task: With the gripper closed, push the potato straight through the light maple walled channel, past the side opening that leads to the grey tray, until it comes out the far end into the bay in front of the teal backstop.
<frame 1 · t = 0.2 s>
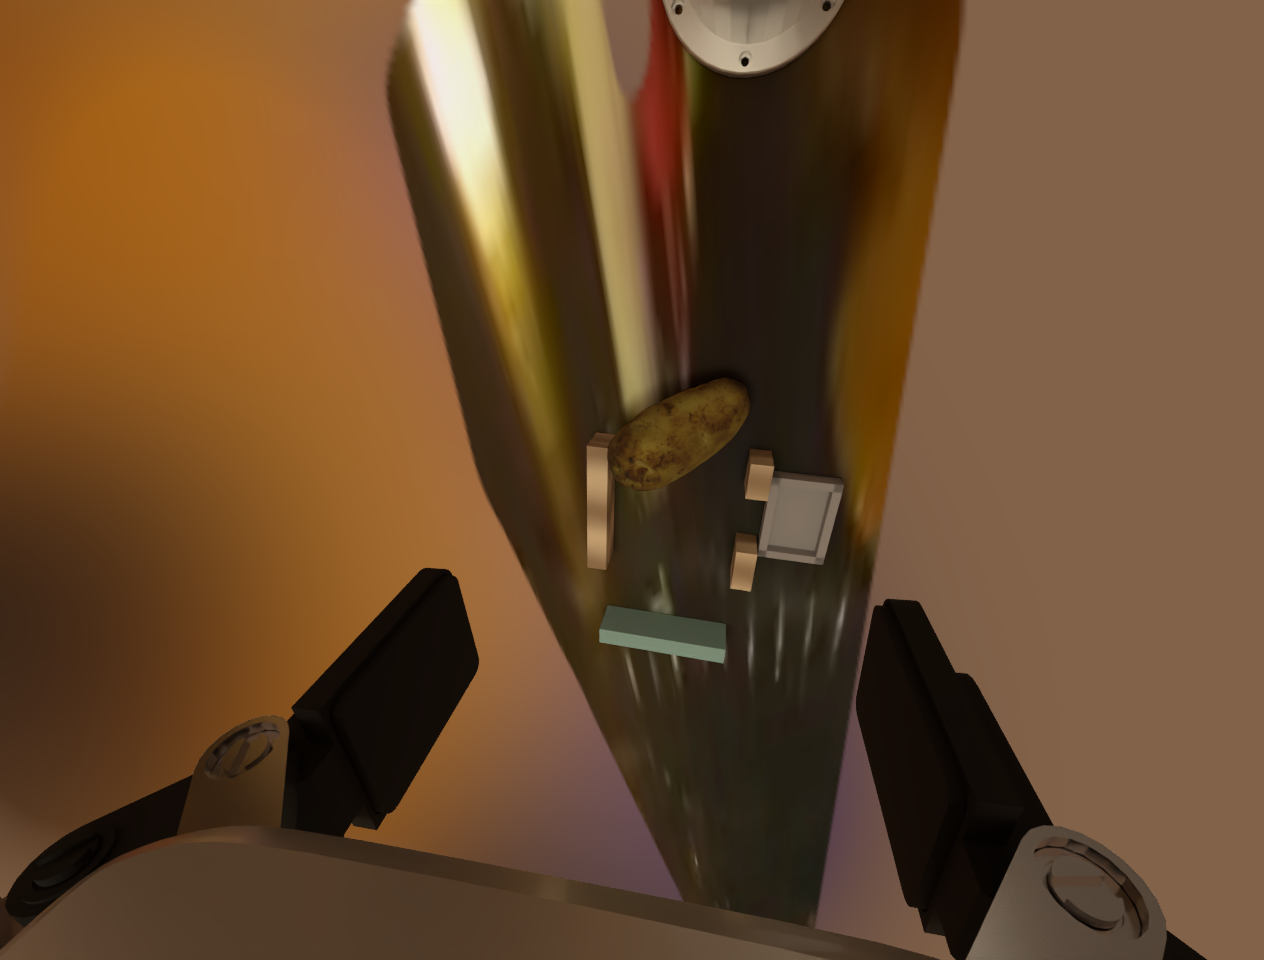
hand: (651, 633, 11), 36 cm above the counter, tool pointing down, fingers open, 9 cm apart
grey tray: (796, 514, 48), on the counter
tunnel: (675, 504, 50), on the counter
potato: (683, 421, 46), on the counter
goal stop: (665, 620, 58), on the counter
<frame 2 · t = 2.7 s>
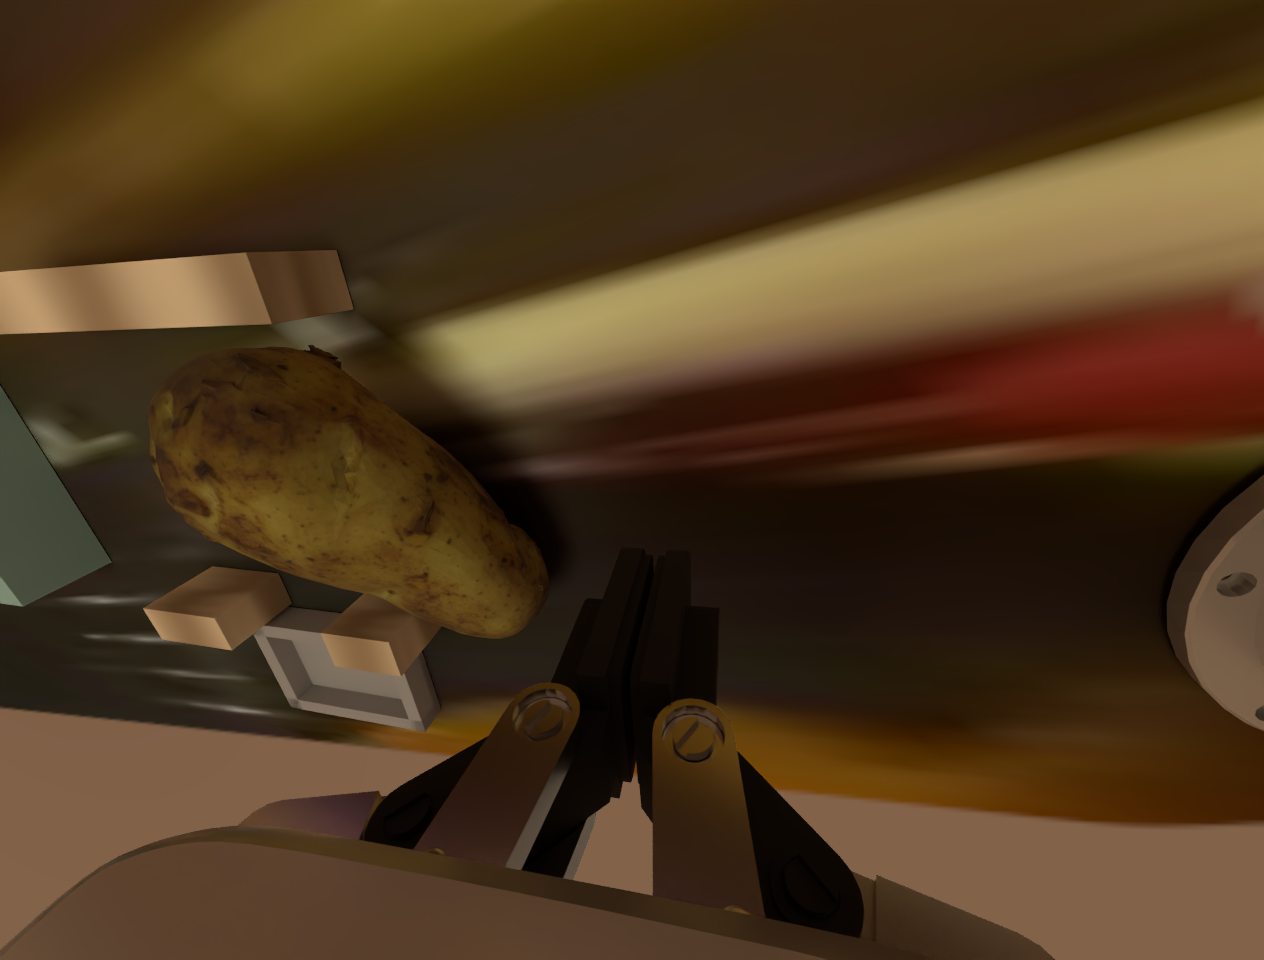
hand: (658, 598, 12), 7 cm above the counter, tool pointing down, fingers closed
grey tray: (357, 657, 28), on the counter
tunnel: (269, 463, 22), on the counter
potato: (445, 468, 21), on the counter
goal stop: (30, 452, 26), on the counter
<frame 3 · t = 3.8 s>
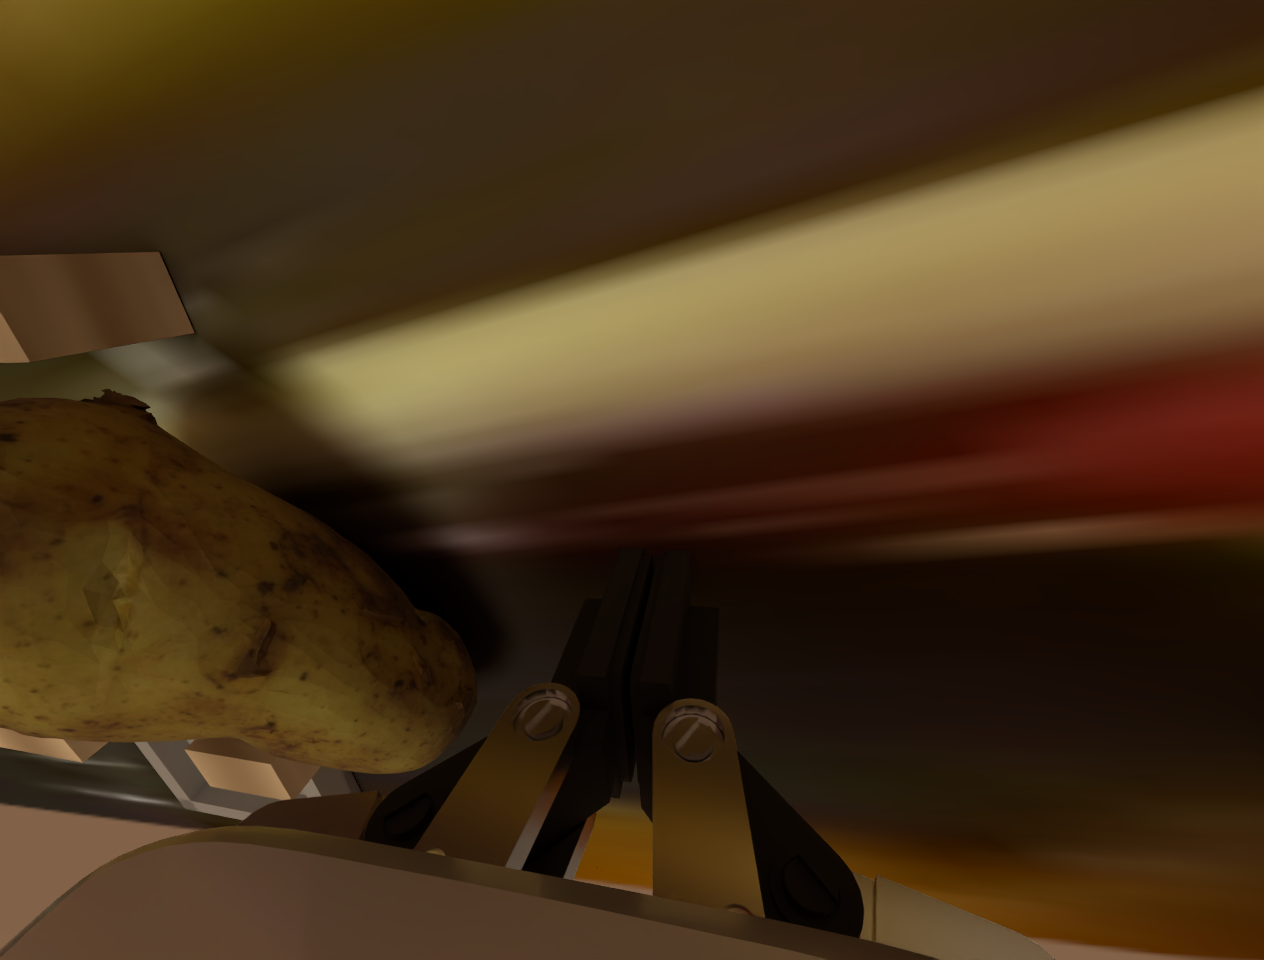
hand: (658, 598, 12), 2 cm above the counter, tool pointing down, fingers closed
grey tray: (262, 748, 23), on the counter
tunnel: (120, 526, 17), on the counter
potato: (341, 535, 16), on the counter
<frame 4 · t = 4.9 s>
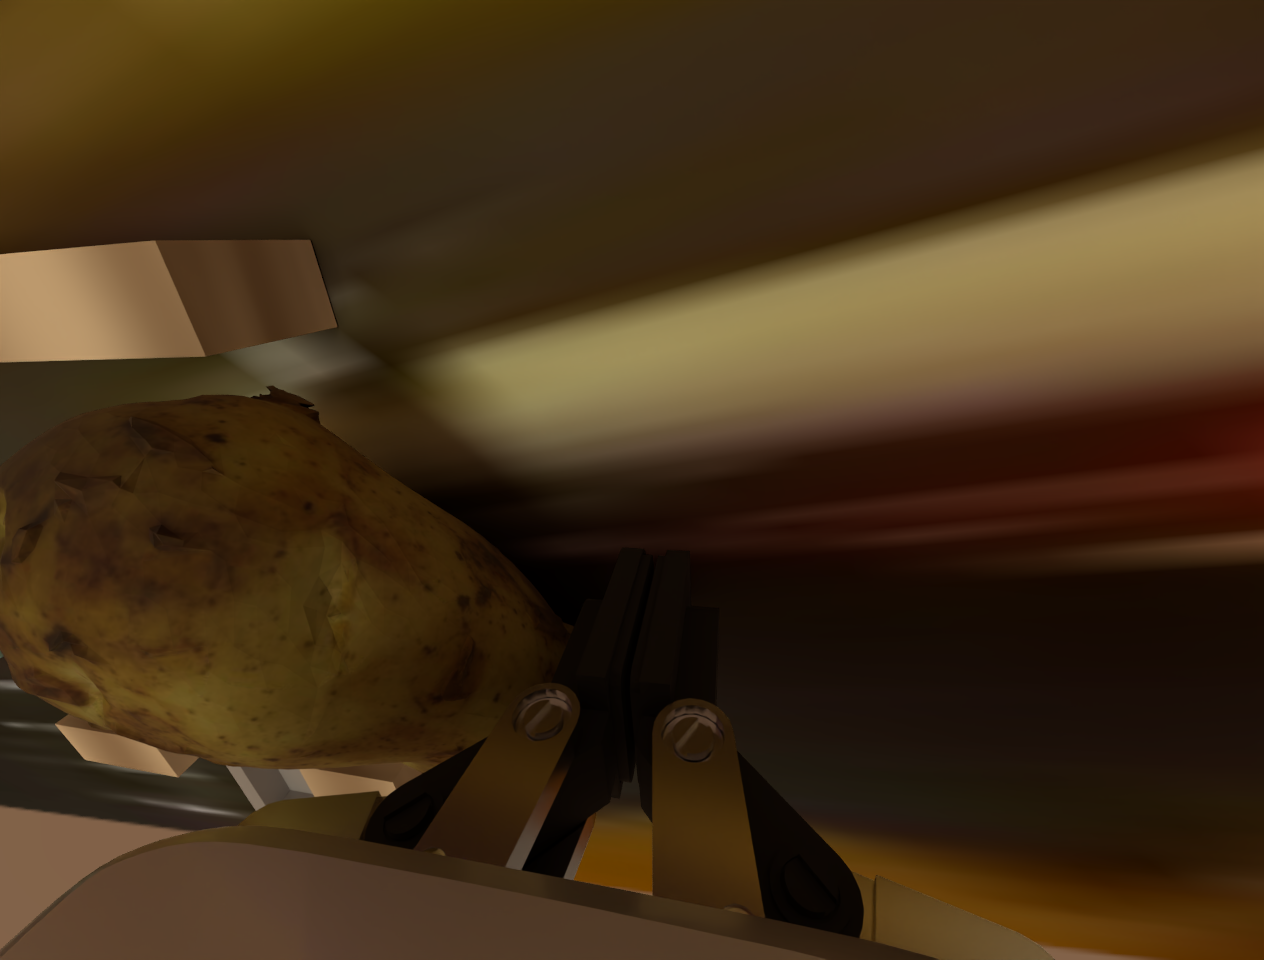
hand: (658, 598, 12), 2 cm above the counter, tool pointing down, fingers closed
grey tray: (347, 760, 22), on the counter
tunnel: (223, 530, 17), on the counter
potato: (466, 541, 15), on the counter, touching gripper
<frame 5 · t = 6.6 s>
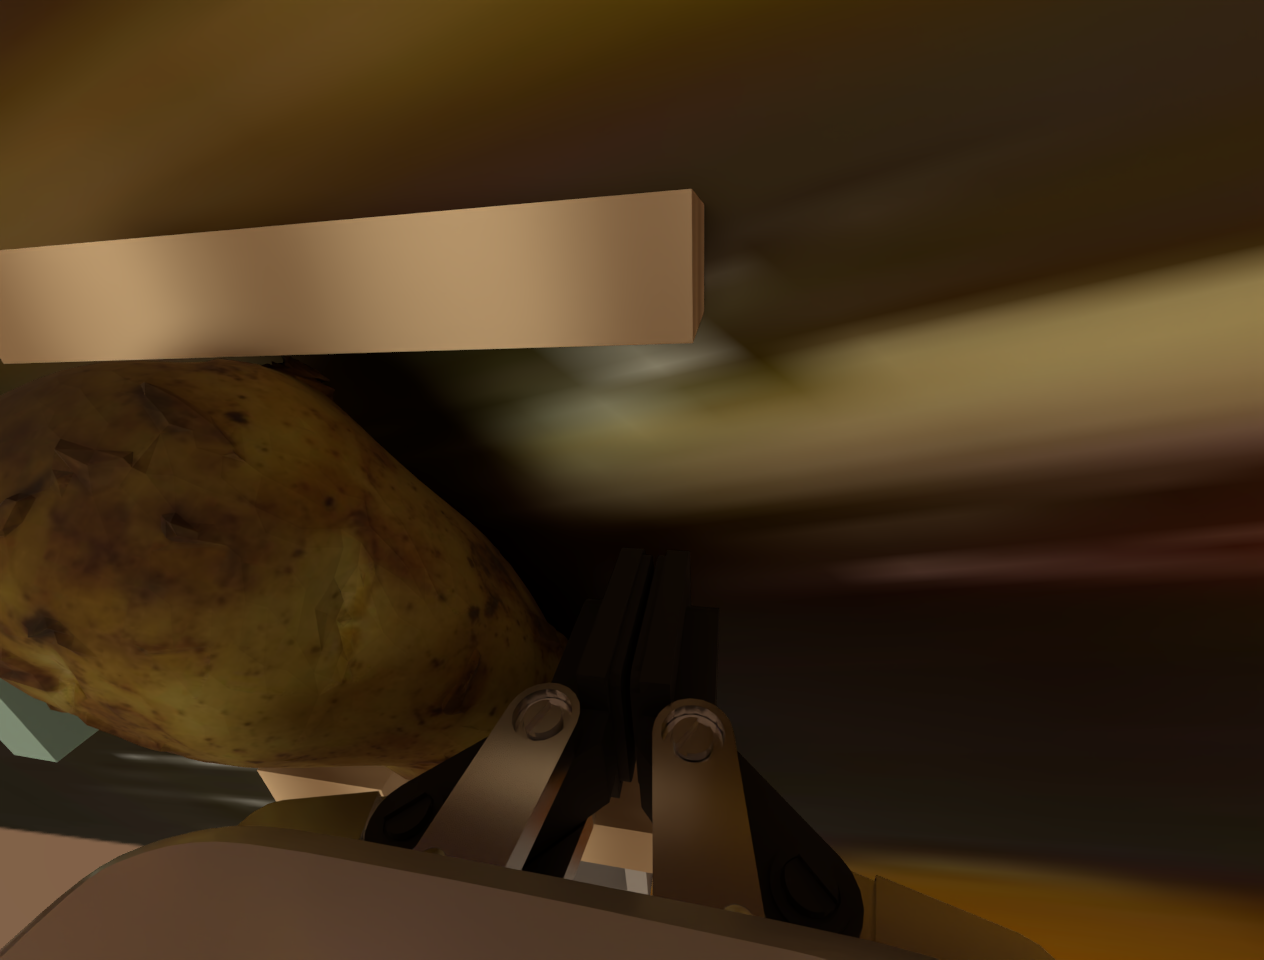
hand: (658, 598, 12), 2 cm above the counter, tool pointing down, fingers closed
grey tray: (540, 798, 20), on the counter
tunnel: (467, 549, 15), on the counter
potato: (458, 531, 15), on the counter, touching gripper
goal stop: (59, 527, 18), on the counter
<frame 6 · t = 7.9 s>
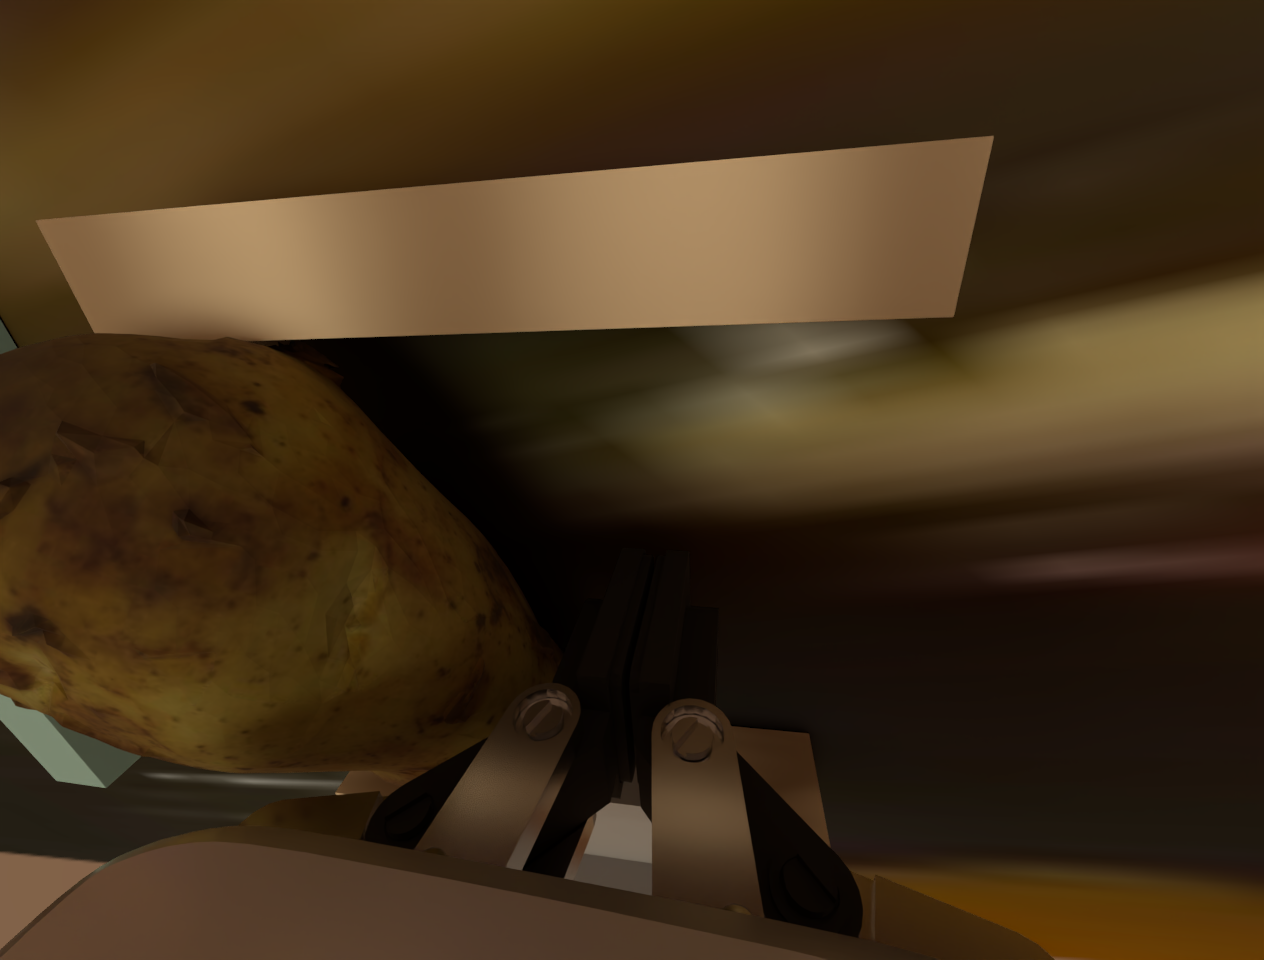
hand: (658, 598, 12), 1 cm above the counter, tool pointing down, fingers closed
grey tray: (617, 812, 19), on the counter
tunnel: (570, 551, 14), on the counter
potato: (448, 526, 14), on the counter, touching gripper, tunnel
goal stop: (103, 532, 16), on the counter
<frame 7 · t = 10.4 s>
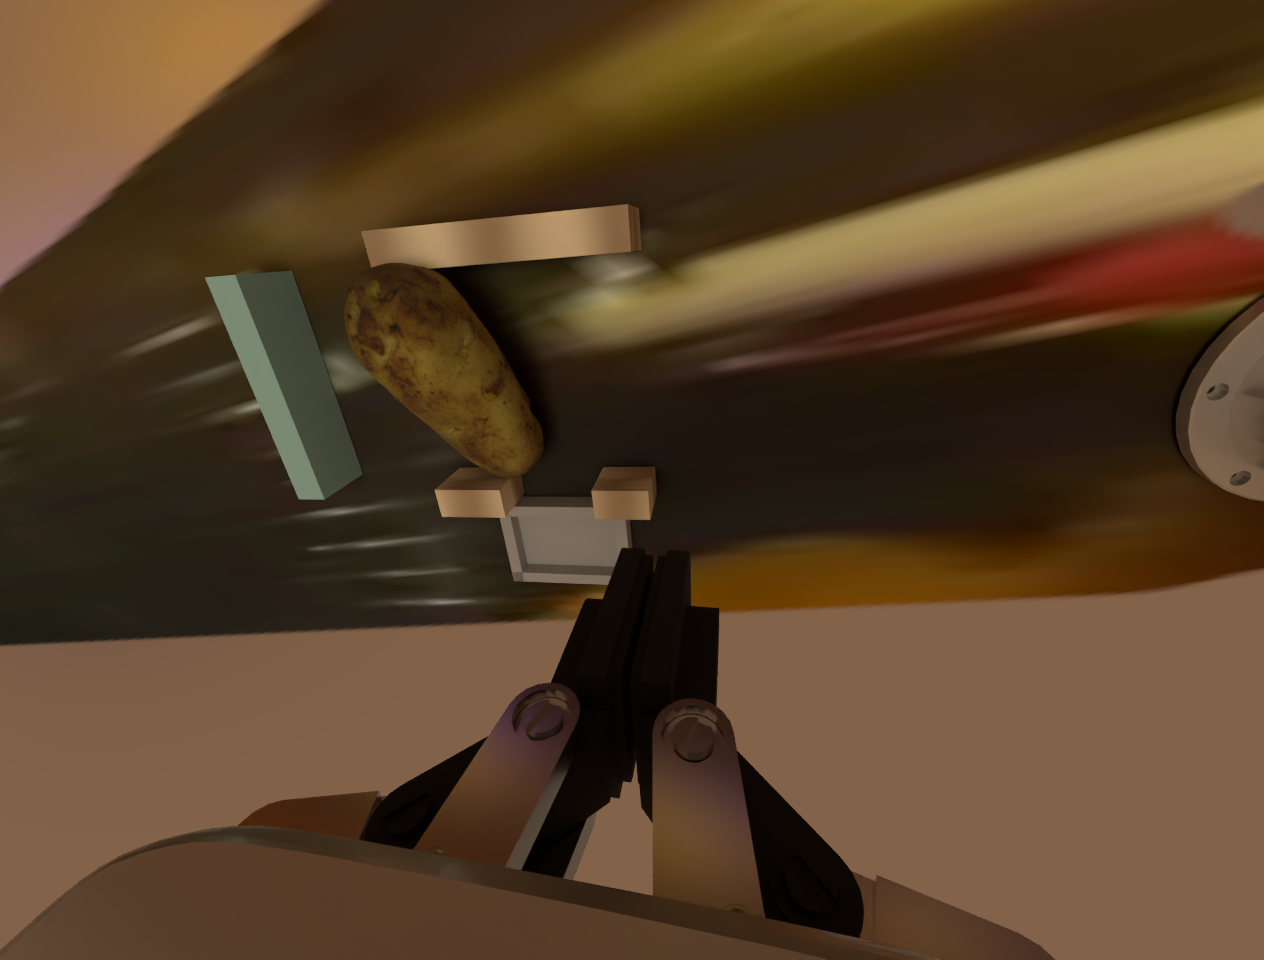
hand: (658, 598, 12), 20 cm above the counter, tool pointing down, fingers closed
grey tray: (571, 535, 36), on the counter
tunnel: (538, 373, 31), on the counter
potato: (484, 366, 31), on the counter
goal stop: (317, 382, 33), on the counter
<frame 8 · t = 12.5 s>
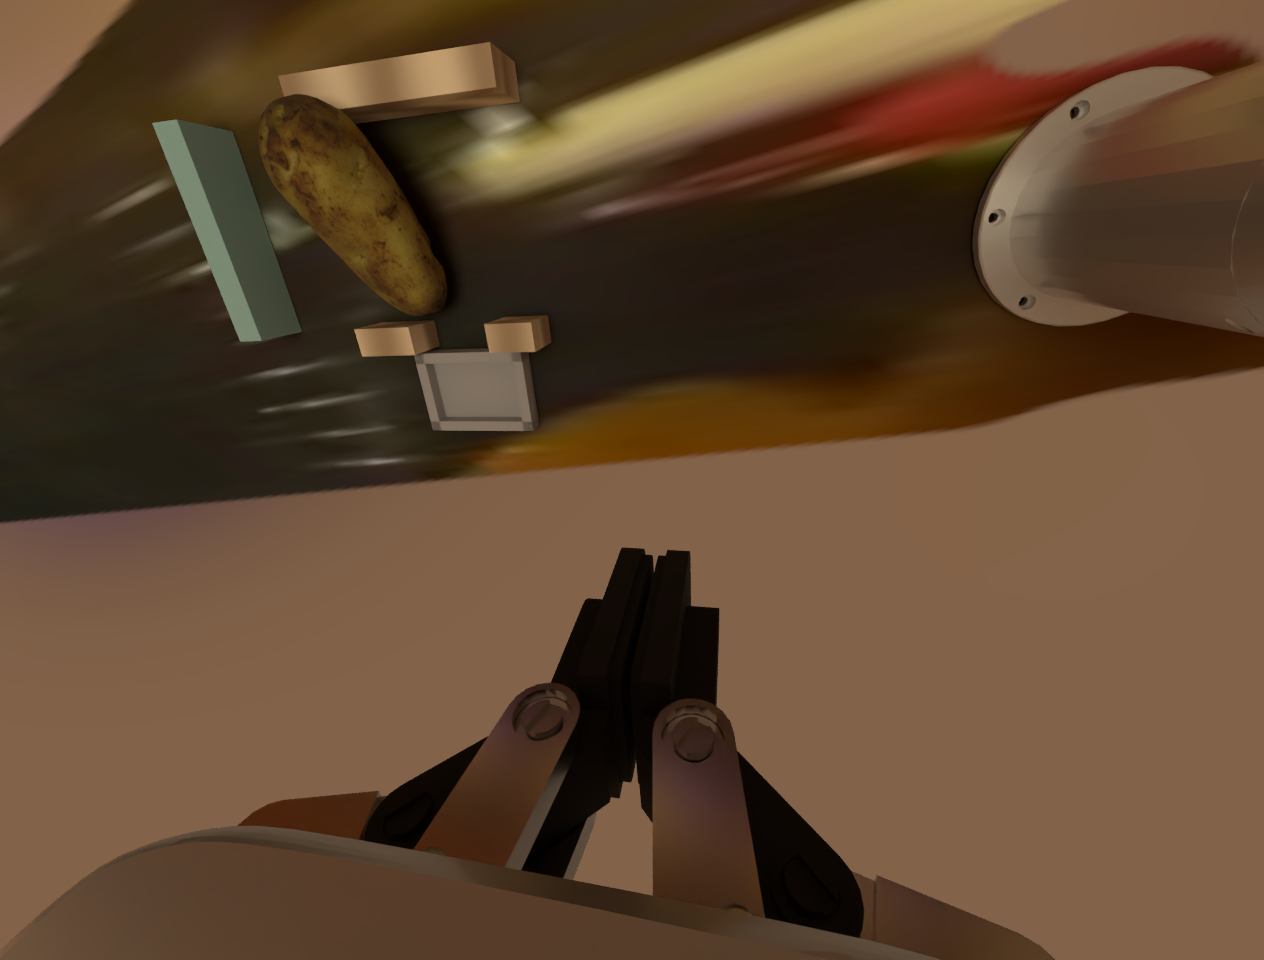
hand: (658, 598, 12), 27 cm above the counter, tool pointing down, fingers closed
grey tray: (482, 387, 40), on the counter
tunnel: (443, 225, 35), on the counter
potato: (398, 221, 36), on the counter
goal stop: (259, 240, 38), on the counter
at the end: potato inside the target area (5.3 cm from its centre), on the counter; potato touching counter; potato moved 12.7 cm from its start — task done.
